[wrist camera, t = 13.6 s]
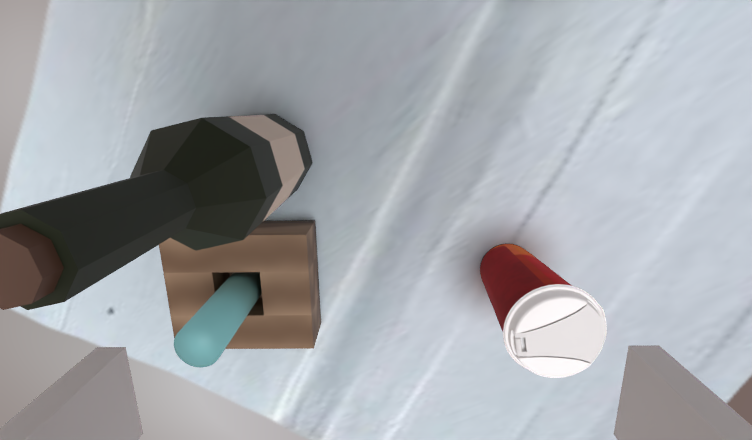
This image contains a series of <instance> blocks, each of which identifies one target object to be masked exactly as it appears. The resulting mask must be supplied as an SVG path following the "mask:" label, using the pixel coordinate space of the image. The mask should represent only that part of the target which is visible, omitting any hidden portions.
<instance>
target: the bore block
mask: <svg viewBox="0 0 752 440" xmlns="http://www.w3.org/2000/svg"><path fill="white" fill-rule="evenodd" d="M159 248H160V254H161V260H162V266H163V272H164V278H165V284H166V290H167V296H168V302H169V308H170V314H171V320H172V326H173V332H174V338H175V336H176V335H177V333H178V332H179V331H180V330H181V329H182V328H183V326H184V325H185V324H186V323H187V322H188V321H189V320H190V319H191V318H192V317H193V316H194V315H195V314H196V312H197V311H198V310H199V309H200V308H201V307H202V306H203V305H204V304H205V303H206V302H207V301H208V299H209V298H210V297H211V296H212V295H213V294H214V293H215V292H216V291H217V290H218V289H219V288H220V286H221V285H222V284H223V283H224V282H225V281H226V280H227V279H228V278H229V277H230V276H231V275H232V273H233V272H260V280H261V290H262V294H261V295H260V297H259V298H258V300H257V301H256V303H255V304H254V306H253V307H252V309H251V310H250V312H249V313H248V315H247V316H246V318H245V319H244V321H243V322H242V324H241V325H240V327H239V328H238V330H237V331H236V333H235V334H234V336H233V337H232V339H231V341H230V342H229V344H228V345H227V347H226V348H225V349H280V348H314V345H315V342H316V339H317V335H318V332H319V328H320V325H321V314H320V296H319V279H318V262H317V244H316V227H315V220H305V221H263V222H262V223H261V224H260V225H259V226H258V227H257V228H256V229H255V230H253V231H252V232H251V233H250V234H249V235H248V236H247V237H246V238H245V239H244V240H241V241H237V242H233V243H228V244H224V245H219V246H215V247H210V248H206V249H201V250H197V251H195V250H193V249H191V248H189V247H187V246H185V245H183V244H182V243H180V242H178V241H176V240H174V239H172V238H169V239H167V240H166V241H164V242H162V243H161V244H159Z"/></svg>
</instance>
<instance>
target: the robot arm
mask: <svg viewBox="0 0 752 440" xmlns="http://www.w3.org/2000/svg"><path fill="white" fill-rule="evenodd" d="M142 434H143V431H142V426H141V421H140V416H139V412H138V406H137V401H136V397H135V392H134V387H133V382H132V377H131V372H130V367H129V362H128V357H127V352H126V347H97V348H96V349H94V350H93V351H92V352H91V353H90V354H89V355H87V356H86V357H85V358H84V359H82V360H81V361H80V362H79V363H78V364H76V365H75V366H74V367H73V368H72V369H70V370H69V371H68V372H67V373H66V374H64V375H63V376H62V377H61V378H60V379H58V380H57V381H56V382H55V383H54V384H53V385H51V386H50V387H49V388H48V389H46V390H45V391H44V392H43V393H42V394H40V395H39V396H38V397H37V398H36V399H34V400H33V401H32V402H31V403H30V404H28V405H27V406H26V407H25V408H24V409H22V410H21V411H20V412H19V413H18V414H16V415H15V416H14V417H13V418H12V419H10V420H9V421H8V422H7V423H6V424H5V425H3V426H2V427H1V428H0V440H138V439H139V438H140V436H141V435H142ZM614 435H615V437H616V438H617V439H618V440H752V426H751V425H750V424H749V423H748V422H747V421H746V420H745V419H743V418H742V417H741V416H740V415H739V414H738V413H736V412H735V411H734V410H733V409H732V408H731V407H730V406H728V405H727V404H726V403H725V402H724V401H723V400H721V399H720V398H719V397H718V396H717V395H716V394H714V393H713V392H712V391H711V390H710V389H709V388H708V387H706V386H705V385H704V384H703V383H702V382H701V381H699V380H698V379H697V378H696V377H695V376H694V375H692V374H691V373H690V372H689V371H688V370H687V369H685V368H684V367H683V366H682V365H681V364H680V363H679V362H677V361H676V360H675V359H674V358H673V357H672V356H670V355H669V354H668V353H667V352H666V351H665V350H663V349H662V348H661V347H660V346H629V347H628V353H627V359H626V365H625V371H624V377H623V383H622V388H621V394H620V400H619V406H618V412H617V418H616V424H615V430H614Z"/></svg>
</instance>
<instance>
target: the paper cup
mask: <svg viewBox="0 0 752 440" xmlns="http://www.w3.org/2000/svg"><path fill="white" fill-rule="evenodd" d="M480 274H481V278H482V281H483V283H484V286H485V289H486V291H487V293H488V296H489V298H490V301H491V303H492V306H493V308H494V311H495V313H496V316H497V319H498V321H499V324H500V326H501V328H502V331H503V339H504V343H505V346H506V349H507V351H508V353H509V354H510V356H511V357H512V358H513V359H514V360H515V361H516V362H517V363H518V364H520V365H521V366H522V367H524V368H526V369H528V370H530V371H531V372H533V373H535V374H538V375H541V376H544V377H549V378H561V377H567V376H571V375H574V374H577V373H579V372H581V371H583V370H584V369H586V368H587V367H589V366H590V365H591V364H592V363H593V362H594V360H595V359H596V358H597V356H598V355H599V353H600V352H601V350H602V348H603V345H604V341H605V338H606V335H607V326H606V318H605V313H604V310H603V308H602V307H601V306H600V305H599V304H598V303H597V302H596V300H595V299H594V298H593V297H592V296H591V295H589V294H588V293H587V292H585V291H583V290H582V289H580V288H577V287H574V286H571V285H570V284H569V283H568V282H566V281H565V280H564V279H563V278H561V277H560V276H559V275H557V274H556V273H555V272H554V271H552V270H551V269H550V268H549V267H547V266H546V265H545V264H543V263H542V262H541V261H540V260H538V259H537V258H536V257H534V256H533V255H532V254H530V253H529V252H528V251H526V250H525V249H523V248H521V247H520V246H517V245H514V244H502V245H498V246H496V247H494V248H492V249H491V250H489V251H488V252H487V253H486V255H485V256H484V257H483V259H482V262H481V265H480Z"/></svg>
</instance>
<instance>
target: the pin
mask: <svg viewBox="0 0 752 440" xmlns="http://www.w3.org/2000/svg"><path fill="white" fill-rule="evenodd" d="M261 294H262V290H261V280H260V272H233V273H232V275H231V276H230V277H229V278H228V279H227V280H226V281H225V282H224V283H223V284H222V285H221V286H220V288H219V289H218V290H217V291H216V292H215V293H214V294H213V295H212V296H211V297H210V298H209V299H208V301H207V302H206V303H205V304H204V305H203V306H202V307H201V308H200V309H199V310H198V311H197V312H196V314H195V315H194V316H193V317H192V318H191V319H190V320H189V321H188V322H187V323H186V324H185V325H184V326H183V328H182V329H181V330H180V331H179V332H178V333H177V335H176V336H175V339H174V348H175V351H176V353H177V355H178V356H179V358H180V359H181V360H182V361H184V362H185V363H187V364H189V365H191V366H194V367H207V366H210V365H212V364H214V363H215V362H216V361H217V360H218V359H219V357H220V356H221V354H222V353H223V351H224V350H225V348H226V347H227V345H228V344H229V342H230V341H231V339H232V337H233V336H234V334H235V333H236V331H237V330H238V328H239V327H240V325H241V324H242V322H243V321H244V319H245V318H246V316H247V315H248V313H249V312H250V310H251V309H252V307H253V306H254V304H255V303H256V301H257V300H258V298H259V297H260V295H261Z"/></svg>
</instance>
